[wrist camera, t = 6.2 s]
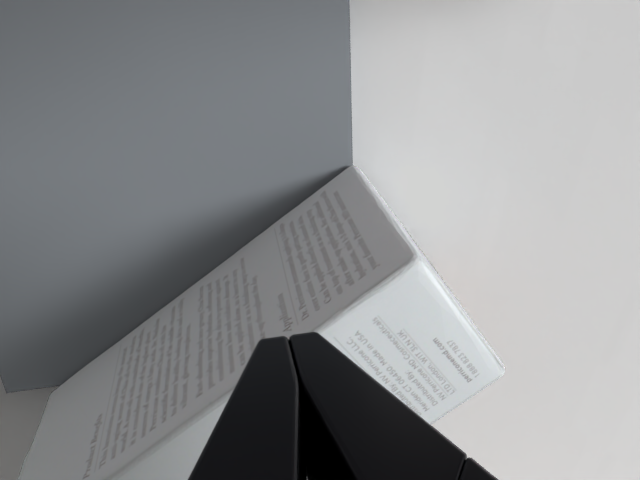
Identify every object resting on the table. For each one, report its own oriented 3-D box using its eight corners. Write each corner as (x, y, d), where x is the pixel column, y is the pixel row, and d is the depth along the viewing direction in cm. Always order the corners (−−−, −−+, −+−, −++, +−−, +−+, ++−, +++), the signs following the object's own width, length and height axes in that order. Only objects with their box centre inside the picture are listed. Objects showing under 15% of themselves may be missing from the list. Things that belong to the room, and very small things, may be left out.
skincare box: (430, 258, 19) (141, 459, 21) (355, 158, 17) (45, 388, 19) (517, 383, 14) (118, 641, 15) (422, 255, 12) (-22, 567, 13)
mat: (341, -105, 15) (347, -107, 14) (352, 334, 20) (356, 344, 20) (-145, -88, 13) (-160, -90, 13) (12, 380, 19) (6, 392, 18)
